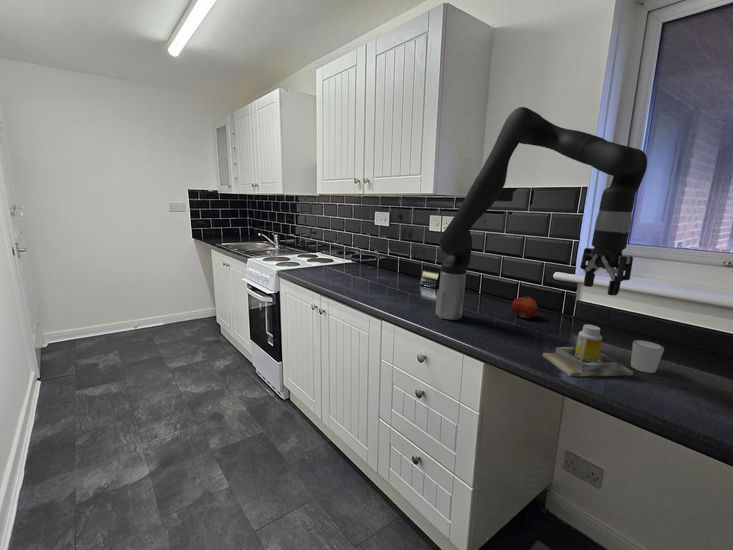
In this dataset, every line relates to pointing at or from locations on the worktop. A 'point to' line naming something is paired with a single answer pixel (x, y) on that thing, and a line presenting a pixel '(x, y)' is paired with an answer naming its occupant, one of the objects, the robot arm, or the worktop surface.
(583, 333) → the supplement bottle
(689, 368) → the worktop surface
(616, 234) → the robot arm
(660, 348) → the shot glass
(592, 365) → the holder
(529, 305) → the tomato
